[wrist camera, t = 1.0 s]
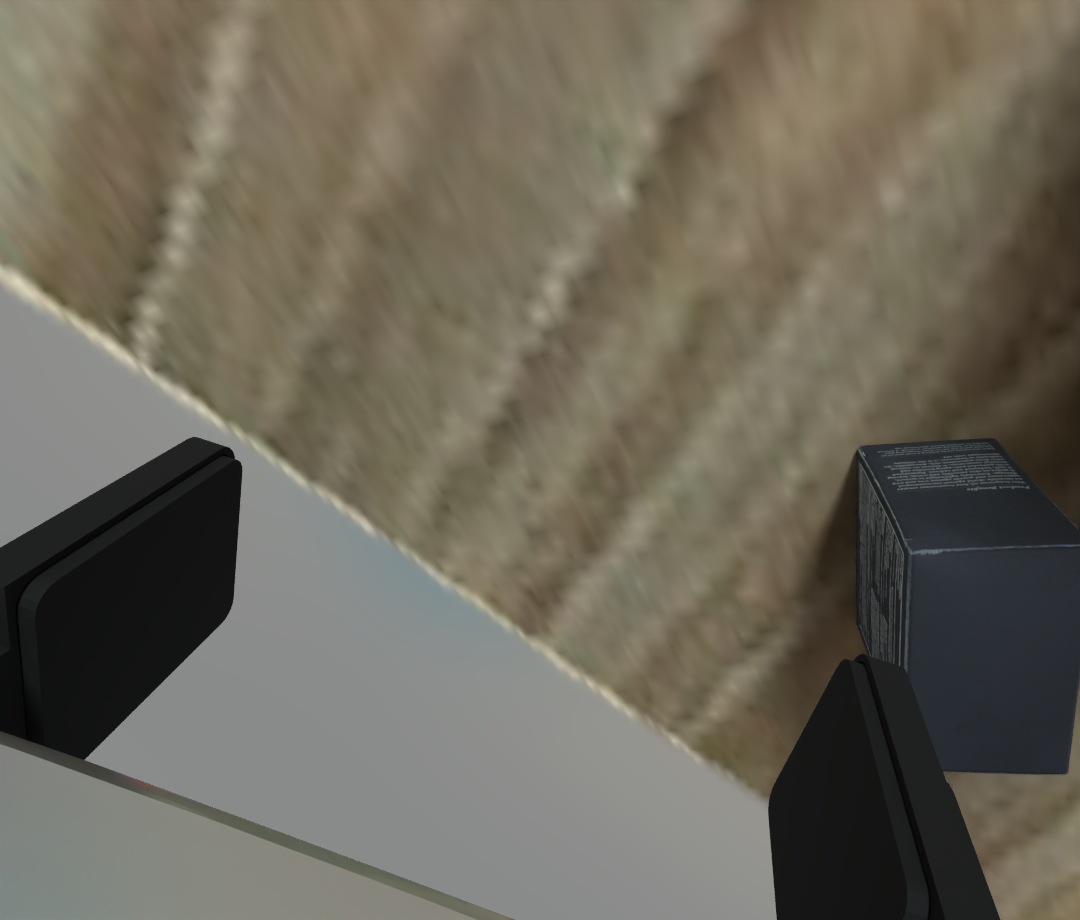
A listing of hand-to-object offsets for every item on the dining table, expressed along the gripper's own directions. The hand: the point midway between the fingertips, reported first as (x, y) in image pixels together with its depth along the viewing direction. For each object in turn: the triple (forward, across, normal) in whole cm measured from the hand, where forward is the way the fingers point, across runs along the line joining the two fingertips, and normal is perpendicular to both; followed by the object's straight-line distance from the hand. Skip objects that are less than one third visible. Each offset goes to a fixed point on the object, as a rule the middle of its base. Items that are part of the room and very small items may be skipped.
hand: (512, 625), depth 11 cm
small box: (+27, -17, +8) cm, 33 cm away
